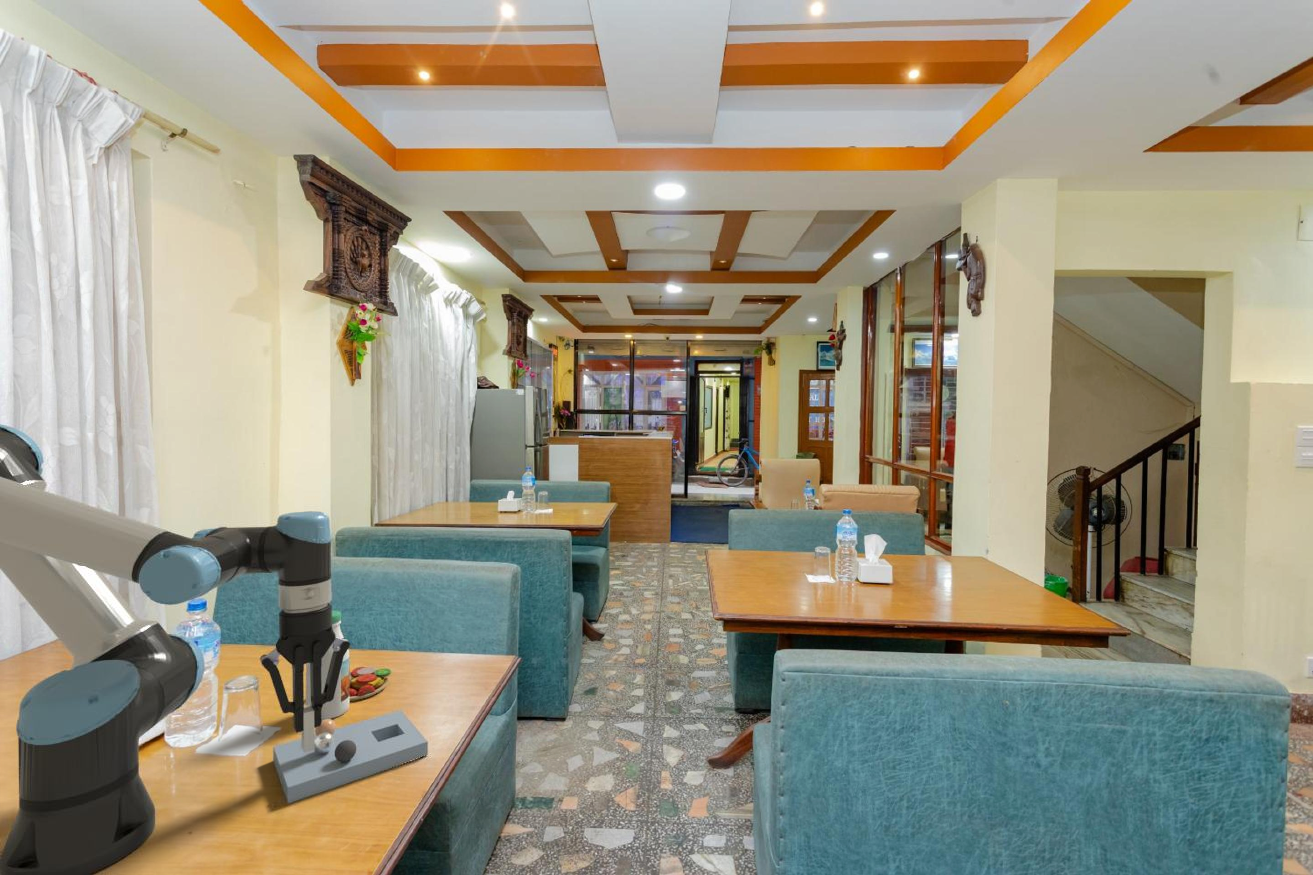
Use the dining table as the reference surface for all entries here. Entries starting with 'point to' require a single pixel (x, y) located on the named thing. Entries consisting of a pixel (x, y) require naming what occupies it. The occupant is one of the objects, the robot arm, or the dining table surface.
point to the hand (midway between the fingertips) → (308, 747)
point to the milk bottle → (343, 685)
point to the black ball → (345, 751)
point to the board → (375, 751)
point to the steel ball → (324, 743)
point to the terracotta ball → (326, 727)
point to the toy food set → (367, 682)
